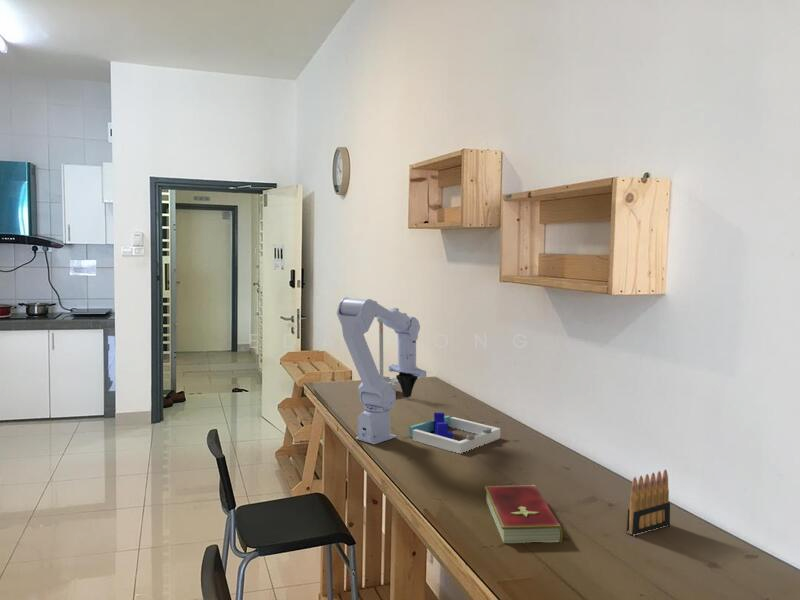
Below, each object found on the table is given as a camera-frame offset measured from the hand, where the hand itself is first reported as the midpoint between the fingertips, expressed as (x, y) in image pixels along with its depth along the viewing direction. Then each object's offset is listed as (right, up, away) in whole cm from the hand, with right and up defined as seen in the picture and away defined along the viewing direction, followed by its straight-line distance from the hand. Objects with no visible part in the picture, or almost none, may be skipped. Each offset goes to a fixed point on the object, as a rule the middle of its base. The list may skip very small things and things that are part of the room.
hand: (407, 396), depth 207 cm
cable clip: (+11, -11, -10) cm, 18 cm away
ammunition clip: (+49, -17, -72) cm, 89 cm away
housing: (+14, -11, -12) cm, 21 cm away
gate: (+7, -10, -5) cm, 13 cm away
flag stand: (-9, -5, +43) cm, 44 cm away
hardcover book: (+23, -17, -67) cm, 73 cm away
